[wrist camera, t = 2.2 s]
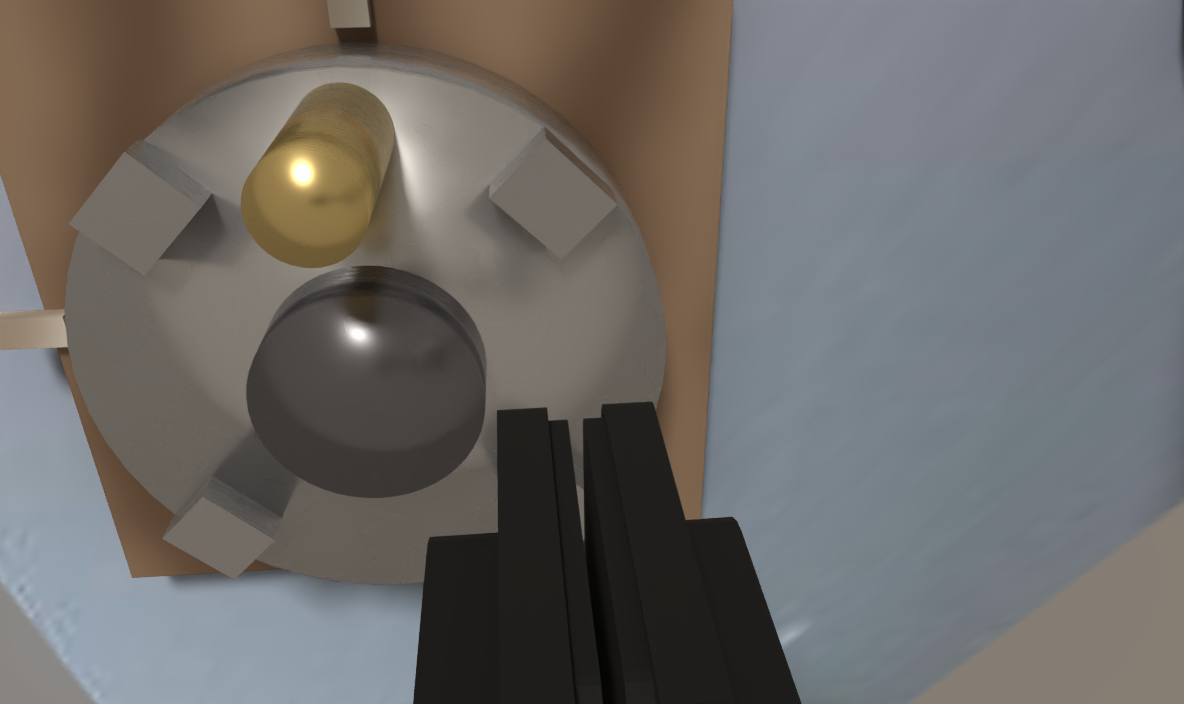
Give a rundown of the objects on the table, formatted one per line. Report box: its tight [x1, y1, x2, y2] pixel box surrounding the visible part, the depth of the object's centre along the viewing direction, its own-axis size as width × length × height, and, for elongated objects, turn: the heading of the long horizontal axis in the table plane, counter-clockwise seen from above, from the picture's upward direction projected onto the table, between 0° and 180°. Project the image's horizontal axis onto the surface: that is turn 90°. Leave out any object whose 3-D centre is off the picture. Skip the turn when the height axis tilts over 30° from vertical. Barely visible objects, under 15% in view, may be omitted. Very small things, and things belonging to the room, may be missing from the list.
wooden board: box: [0, 0, 733, 578], centre depth 30 cm, size 22×20×2 cm
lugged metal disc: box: [65, 42, 666, 584], centre depth 25 cm, size 16×16×8 cm
